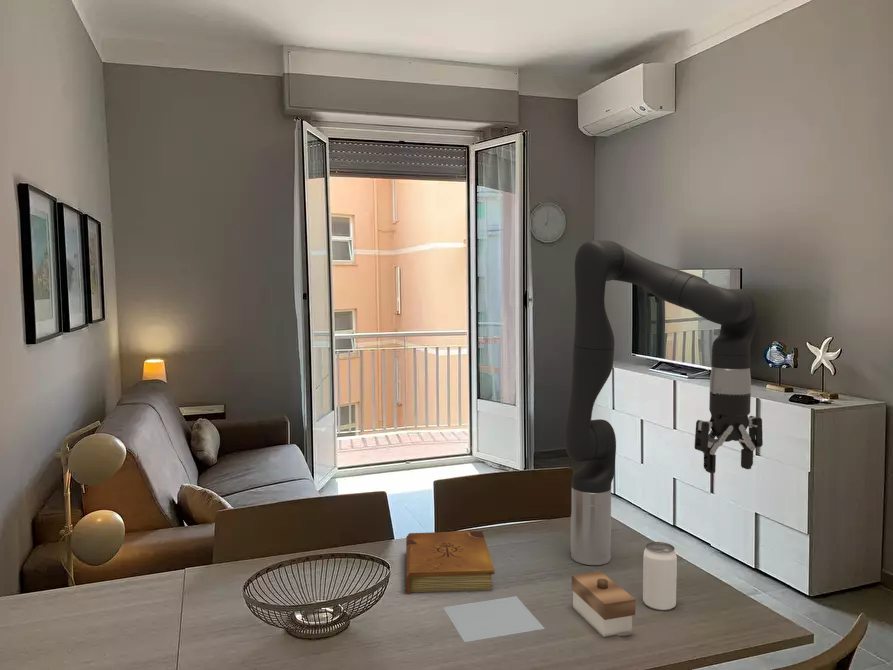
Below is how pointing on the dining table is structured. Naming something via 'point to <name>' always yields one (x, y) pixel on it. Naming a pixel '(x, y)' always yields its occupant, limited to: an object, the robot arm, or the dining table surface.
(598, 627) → the dish
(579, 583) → the lid
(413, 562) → the diary
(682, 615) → the dining table surface
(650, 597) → the can
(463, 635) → the mat
